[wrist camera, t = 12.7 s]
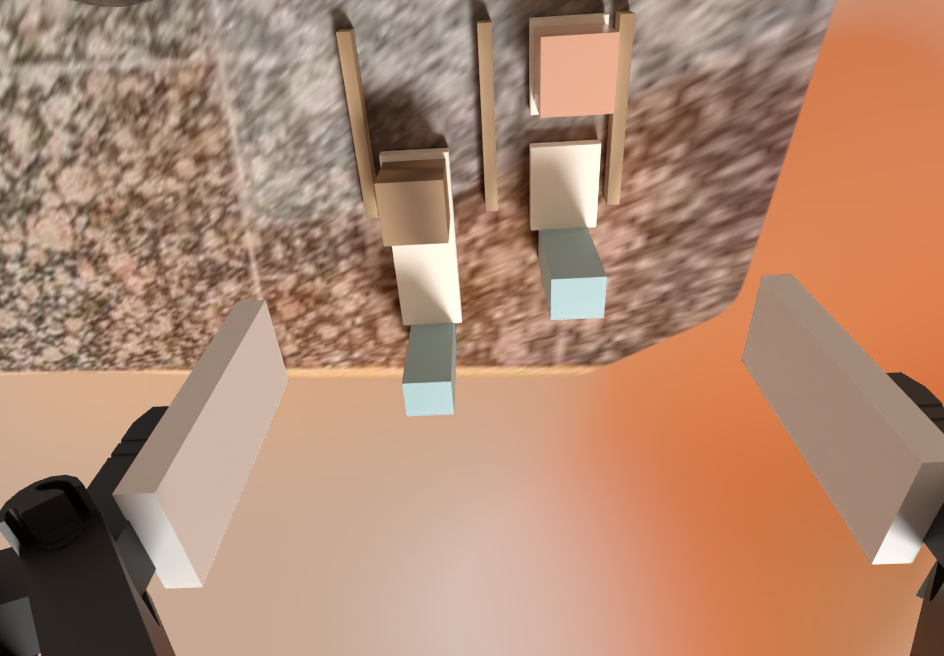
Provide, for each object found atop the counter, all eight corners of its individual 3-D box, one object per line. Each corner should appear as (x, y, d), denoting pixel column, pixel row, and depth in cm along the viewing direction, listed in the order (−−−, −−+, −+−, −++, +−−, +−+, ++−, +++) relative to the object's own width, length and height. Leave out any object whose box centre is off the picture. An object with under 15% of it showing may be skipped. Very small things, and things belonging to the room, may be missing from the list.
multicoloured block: (408, 348, 59) (398, 416, 50) (380, 151, 48) (361, 196, 40) (464, 345, 59) (462, 413, 50) (448, 147, 48) (443, 191, 40)
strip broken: (530, 260, 53) (540, 320, 45) (528, 17, 43) (542, 36, 34) (591, 257, 53) (613, 317, 45) (605, 12, 43) (638, 30, 34)
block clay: (534, 101, 45) (540, 117, 41) (533, 27, 42) (540, 37, 38) (600, 97, 45) (613, 113, 40) (604, 22, 42) (619, 32, 38)
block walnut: (391, 220, 50) (383, 246, 46) (382, 162, 47) (374, 183, 43) (450, 217, 50) (448, 243, 46) (445, 158, 47) (443, 179, 43)
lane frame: (369, 210, 51) (366, 217, 50) (340, 29, 43) (335, 32, 42) (615, 197, 50) (619, 204, 49) (629, 11, 43) (634, 13, 41)
